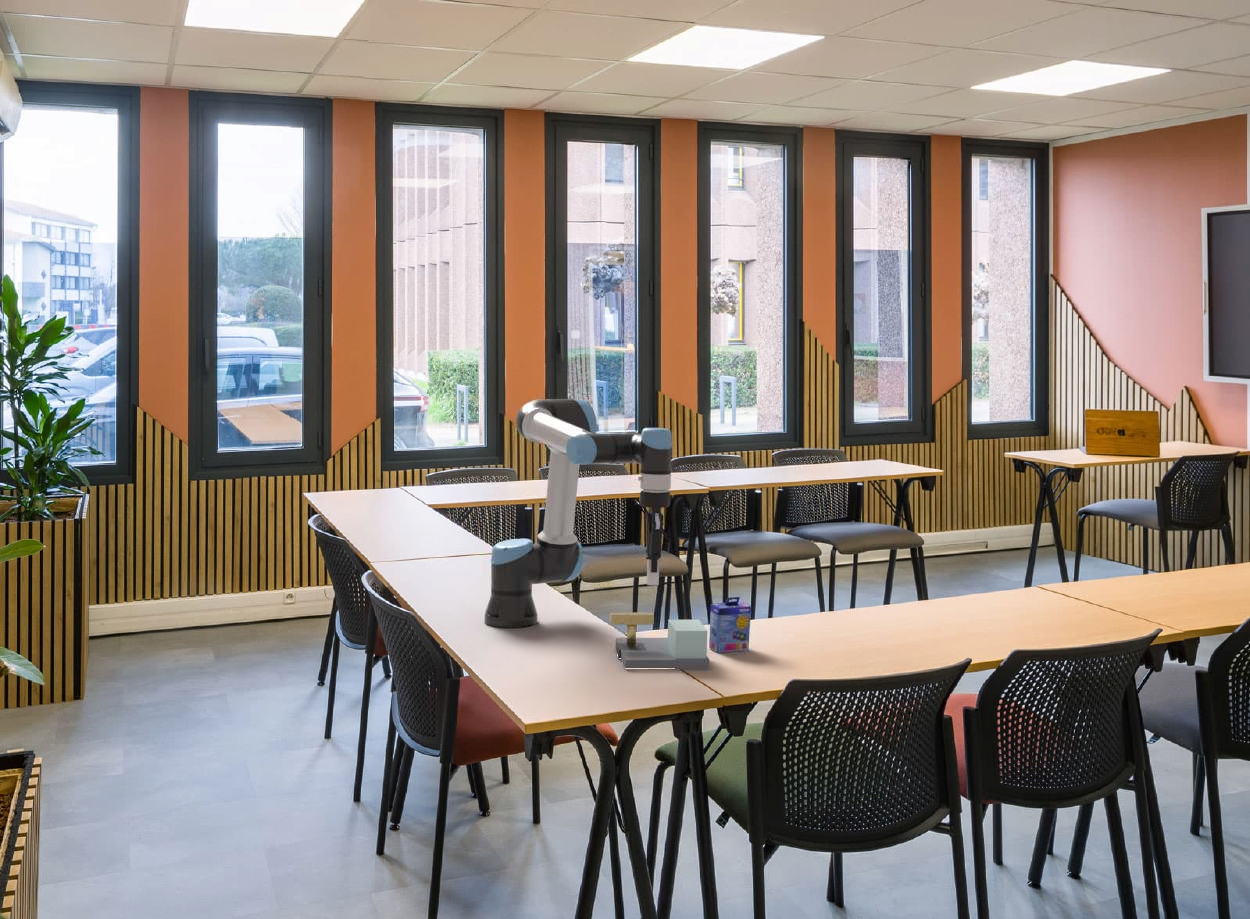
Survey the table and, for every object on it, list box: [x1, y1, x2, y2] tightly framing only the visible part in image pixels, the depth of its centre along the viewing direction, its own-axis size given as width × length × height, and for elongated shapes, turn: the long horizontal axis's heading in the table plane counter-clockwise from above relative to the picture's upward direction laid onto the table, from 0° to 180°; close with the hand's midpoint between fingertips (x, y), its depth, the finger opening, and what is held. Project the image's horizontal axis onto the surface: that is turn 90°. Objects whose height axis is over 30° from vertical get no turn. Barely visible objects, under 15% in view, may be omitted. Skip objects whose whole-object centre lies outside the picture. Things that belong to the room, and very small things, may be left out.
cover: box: [667, 619, 709, 659], centre depth 295 cm, size 12×8×7 cm, turn 7°
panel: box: [615, 637, 710, 671], centre depth 299 cm, size 22×22×3 cm
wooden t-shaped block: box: [609, 612, 655, 646], centre depth 299 cm, size 3×11×8 cm, turn 97°
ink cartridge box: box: [708, 596, 752, 654], centre depth 309 cm, size 10×6×14 cm, turn 113°
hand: (652, 584), depth 291 cm, fingers closed
